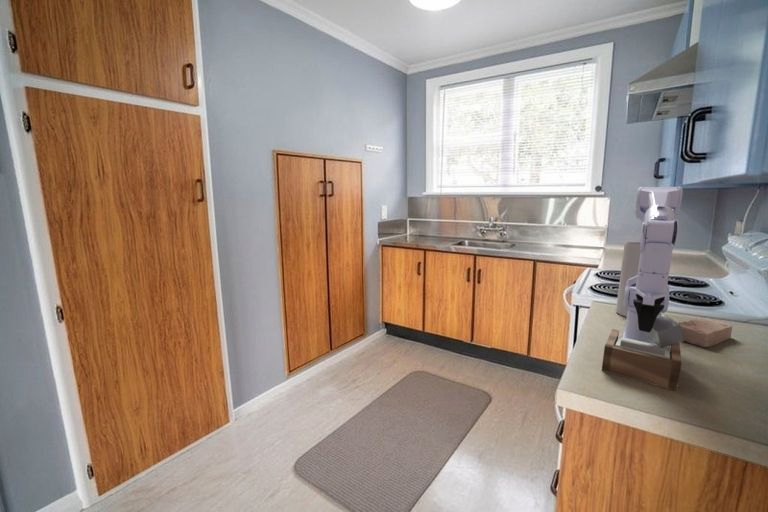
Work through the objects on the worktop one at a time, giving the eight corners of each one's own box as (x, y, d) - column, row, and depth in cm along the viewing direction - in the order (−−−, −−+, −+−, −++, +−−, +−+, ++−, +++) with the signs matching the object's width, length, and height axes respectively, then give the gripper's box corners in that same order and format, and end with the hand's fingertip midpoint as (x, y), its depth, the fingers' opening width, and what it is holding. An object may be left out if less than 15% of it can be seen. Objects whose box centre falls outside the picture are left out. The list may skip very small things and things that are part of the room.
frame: (609, 350, 91) (612, 329, 90) (675, 366, 82) (679, 342, 81) (601, 370, 80) (604, 346, 79) (676, 390, 72) (681, 364, 71)
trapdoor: (619, 340, 89) (620, 332, 88) (668, 351, 82) (669, 342, 82) (614, 349, 80) (616, 339, 79) (669, 362, 73) (670, 351, 73)
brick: (696, 329, 107) (698, 315, 107) (732, 339, 100) (735, 323, 99) (668, 338, 100) (671, 323, 99) (705, 350, 93) (708, 333, 92)
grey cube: (648, 337, 85) (644, 322, 83) (669, 330, 84) (665, 314, 83) (661, 348, 81) (657, 331, 79) (683, 341, 80) (680, 324, 78)
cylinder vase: (618, 317, 116) (627, 245, 112) (613, 307, 127) (621, 241, 123) (664, 324, 111) (676, 247, 107) (655, 313, 122) (665, 243, 118)
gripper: (634, 265, 88) (627, 315, 90) (629, 274, 77) (622, 331, 79) (670, 268, 83) (662, 321, 86) (670, 279, 72) (661, 339, 75)
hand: (645, 327), depth 82 cm, fingers open, 6 cm apart
